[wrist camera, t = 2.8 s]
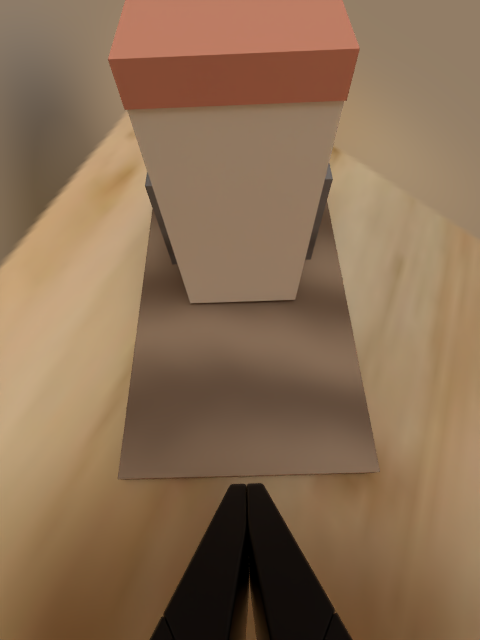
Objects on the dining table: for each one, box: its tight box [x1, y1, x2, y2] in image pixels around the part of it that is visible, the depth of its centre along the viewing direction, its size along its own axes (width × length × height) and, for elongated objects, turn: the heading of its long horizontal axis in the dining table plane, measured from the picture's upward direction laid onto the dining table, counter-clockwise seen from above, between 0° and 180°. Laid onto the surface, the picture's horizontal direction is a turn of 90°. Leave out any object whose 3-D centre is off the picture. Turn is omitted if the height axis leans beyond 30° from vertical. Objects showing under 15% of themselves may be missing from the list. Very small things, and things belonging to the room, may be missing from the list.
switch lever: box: [108, 0, 359, 303], centre depth 14 cm, size 4×6×12 cm
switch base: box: [118, 164, 380, 479], centre depth 17 cm, size 19×12×7 cm, turn 1°
